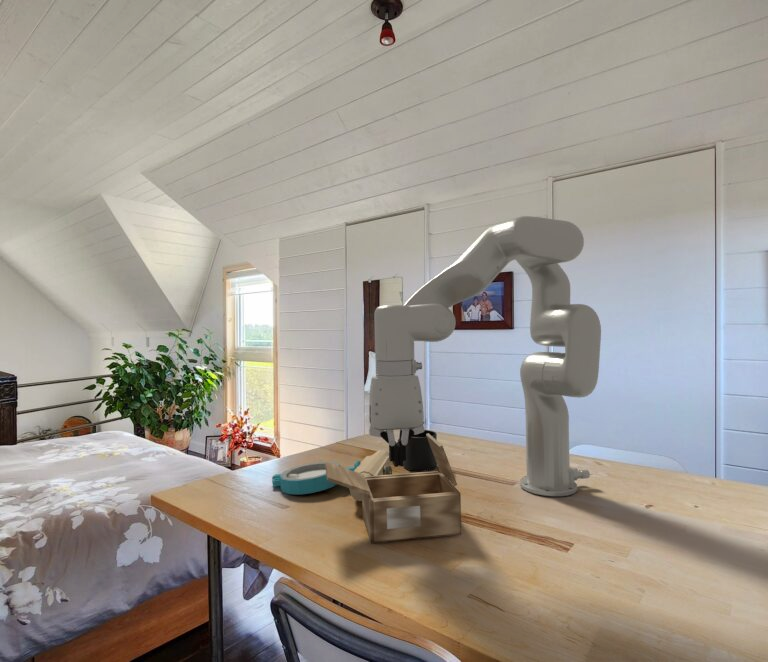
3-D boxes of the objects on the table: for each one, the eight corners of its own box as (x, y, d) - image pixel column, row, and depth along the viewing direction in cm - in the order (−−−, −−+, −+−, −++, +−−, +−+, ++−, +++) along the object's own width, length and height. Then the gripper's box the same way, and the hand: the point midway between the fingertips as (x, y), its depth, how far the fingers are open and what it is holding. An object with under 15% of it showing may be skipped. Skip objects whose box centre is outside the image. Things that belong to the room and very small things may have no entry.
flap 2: (454, 486, 85) (439, 446, 85) (439, 469, 95) (425, 434, 95) (457, 484, 85) (442, 445, 85) (442, 468, 95) (428, 433, 95)
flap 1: (363, 474, 93) (326, 461, 91) (370, 491, 83) (328, 477, 82) (362, 477, 93) (325, 464, 91) (368, 494, 83) (327, 480, 82)
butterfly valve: (250, 517, 101) (382, 509, 95) (245, 486, 101) (378, 476, 95) (296, 478, 127) (403, 470, 122) (293, 453, 128) (399, 444, 122)
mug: (407, 458, 135) (406, 427, 135) (443, 464, 127) (442, 432, 127) (388, 466, 127) (387, 433, 127) (425, 473, 120) (424, 439, 120)
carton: (441, 507, 97) (440, 470, 97) (463, 536, 83) (462, 494, 83) (362, 514, 95) (361, 476, 95) (371, 546, 81) (370, 502, 81)
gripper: (428, 366, 93) (430, 456, 94) (354, 369, 91) (357, 462, 91) (438, 369, 86) (440, 467, 86) (358, 373, 84) (361, 473, 84)
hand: (397, 464), depth 89 cm, fingers closed
